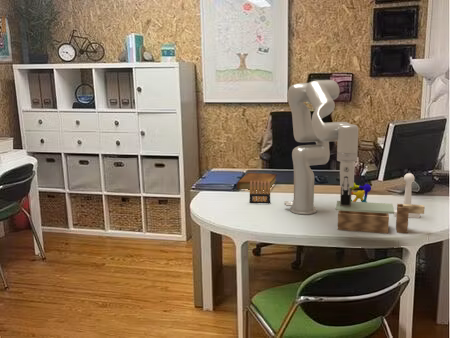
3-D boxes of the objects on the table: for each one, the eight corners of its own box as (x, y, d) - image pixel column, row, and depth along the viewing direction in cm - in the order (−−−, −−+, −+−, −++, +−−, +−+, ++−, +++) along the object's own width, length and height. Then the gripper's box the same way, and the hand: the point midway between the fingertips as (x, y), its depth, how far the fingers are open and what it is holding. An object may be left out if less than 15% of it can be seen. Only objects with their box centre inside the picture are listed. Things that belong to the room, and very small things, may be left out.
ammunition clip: (270, 203, 230) (270, 180, 228) (270, 204, 229) (270, 180, 226) (249, 202, 232) (249, 180, 229) (249, 203, 230) (249, 180, 227)
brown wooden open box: (337, 229, 190) (338, 205, 188) (338, 222, 199) (339, 198, 197) (407, 234, 182) (409, 209, 180) (405, 226, 191) (407, 202, 189)
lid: (335, 210, 172) (336, 191, 171) (337, 202, 183) (337, 185, 181) (394, 213, 167) (395, 194, 165) (392, 205, 177) (393, 187, 175)
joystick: (394, 217, 204) (397, 174, 200) (391, 212, 211) (393, 170, 207) (420, 218, 202) (423, 174, 198) (416, 213, 210) (419, 171, 206)
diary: (246, 181, 279) (246, 172, 278) (276, 183, 274) (276, 174, 273) (237, 190, 257) (237, 180, 256) (269, 192, 252) (269, 182, 251)
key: (402, 212, 184) (403, 205, 184) (402, 210, 187) (402, 203, 186) (424, 213, 182) (424, 206, 182) (423, 212, 184) (423, 205, 184)
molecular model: (348, 213, 212) (334, 185, 217) (351, 216, 223) (337, 189, 228) (378, 199, 209) (363, 171, 214) (379, 203, 220) (365, 176, 225)
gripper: (357, 161, 164) (355, 209, 167) (357, 153, 179) (355, 198, 183) (335, 160, 166) (334, 208, 170) (338, 152, 182) (336, 197, 185)
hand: (345, 202), depth 176 cm, fingers closed on lid, 4 cm apart
